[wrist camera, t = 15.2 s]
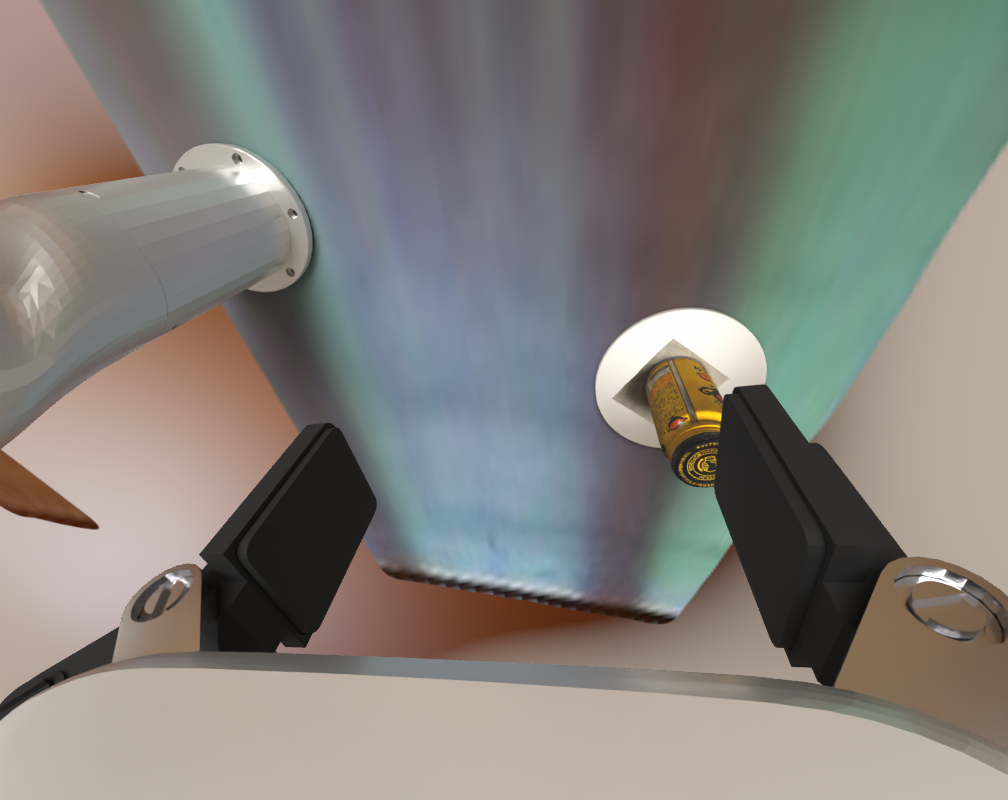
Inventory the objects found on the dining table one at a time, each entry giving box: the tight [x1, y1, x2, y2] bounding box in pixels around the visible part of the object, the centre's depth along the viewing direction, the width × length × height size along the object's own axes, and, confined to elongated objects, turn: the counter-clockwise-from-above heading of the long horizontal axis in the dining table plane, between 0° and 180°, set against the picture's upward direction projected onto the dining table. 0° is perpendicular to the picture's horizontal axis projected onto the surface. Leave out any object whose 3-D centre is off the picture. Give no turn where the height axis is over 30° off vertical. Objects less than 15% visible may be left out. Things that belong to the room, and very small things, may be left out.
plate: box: [595, 307, 767, 448], centre depth 42 cm, size 16×16×1 cm
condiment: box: [612, 338, 729, 487], centre depth 37 cm, size 7×8×12 cm
